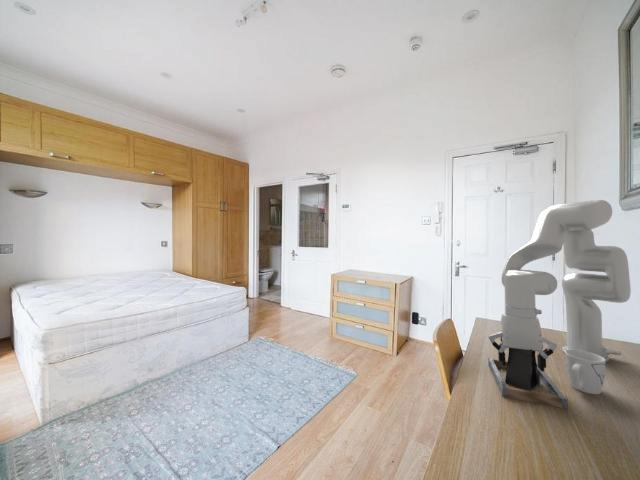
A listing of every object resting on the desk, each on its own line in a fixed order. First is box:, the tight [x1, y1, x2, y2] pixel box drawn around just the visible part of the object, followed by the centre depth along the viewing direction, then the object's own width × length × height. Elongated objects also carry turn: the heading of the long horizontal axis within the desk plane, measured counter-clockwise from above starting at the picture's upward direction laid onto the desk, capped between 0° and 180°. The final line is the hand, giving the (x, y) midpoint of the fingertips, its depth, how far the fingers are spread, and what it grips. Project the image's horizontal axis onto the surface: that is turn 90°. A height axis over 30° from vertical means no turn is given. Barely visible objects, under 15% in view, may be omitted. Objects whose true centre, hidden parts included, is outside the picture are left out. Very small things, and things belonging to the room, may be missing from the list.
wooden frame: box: [487, 357, 569, 410], centre depth 79 cm, size 14×20×2 cm
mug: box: [564, 350, 607, 395], centre depth 75 cm, size 11×8×10 cm
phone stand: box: [504, 348, 541, 391], centre depth 79 cm, size 9×6×12 cm, turn 121°
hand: (521, 366), depth 79 cm, fingers open, 9 cm apart
